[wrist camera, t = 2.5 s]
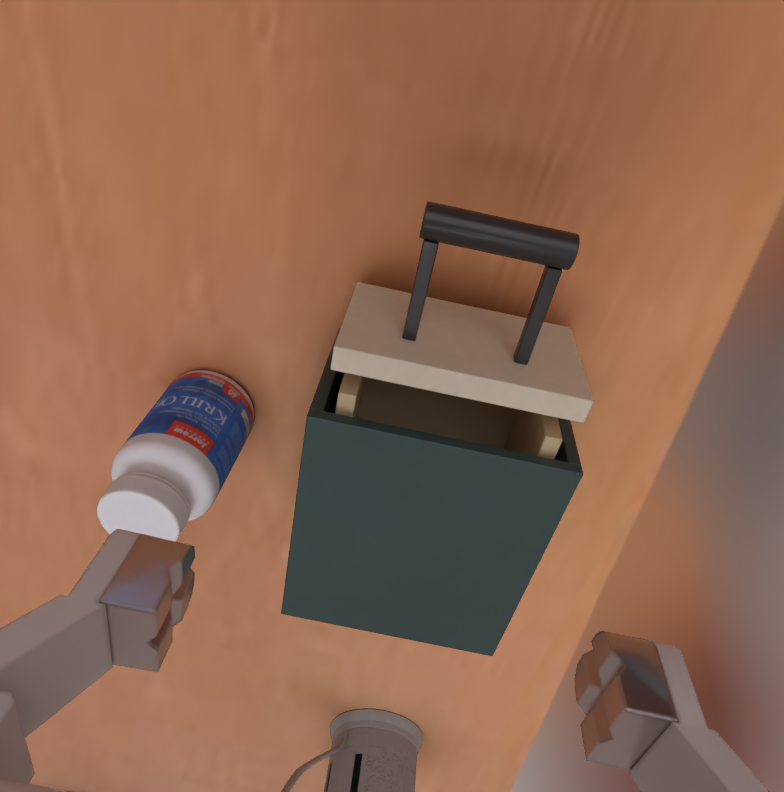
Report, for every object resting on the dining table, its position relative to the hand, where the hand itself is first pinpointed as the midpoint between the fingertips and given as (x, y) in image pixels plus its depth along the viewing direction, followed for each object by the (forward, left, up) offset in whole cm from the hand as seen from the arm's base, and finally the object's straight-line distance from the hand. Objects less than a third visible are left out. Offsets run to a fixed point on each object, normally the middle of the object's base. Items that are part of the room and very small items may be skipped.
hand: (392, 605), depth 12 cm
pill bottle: (+13, -11, -21) cm, 27 cm away
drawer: (+6, +2, -20) cm, 21 cm away
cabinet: (+13, +2, -21) cm, 25 cm away
